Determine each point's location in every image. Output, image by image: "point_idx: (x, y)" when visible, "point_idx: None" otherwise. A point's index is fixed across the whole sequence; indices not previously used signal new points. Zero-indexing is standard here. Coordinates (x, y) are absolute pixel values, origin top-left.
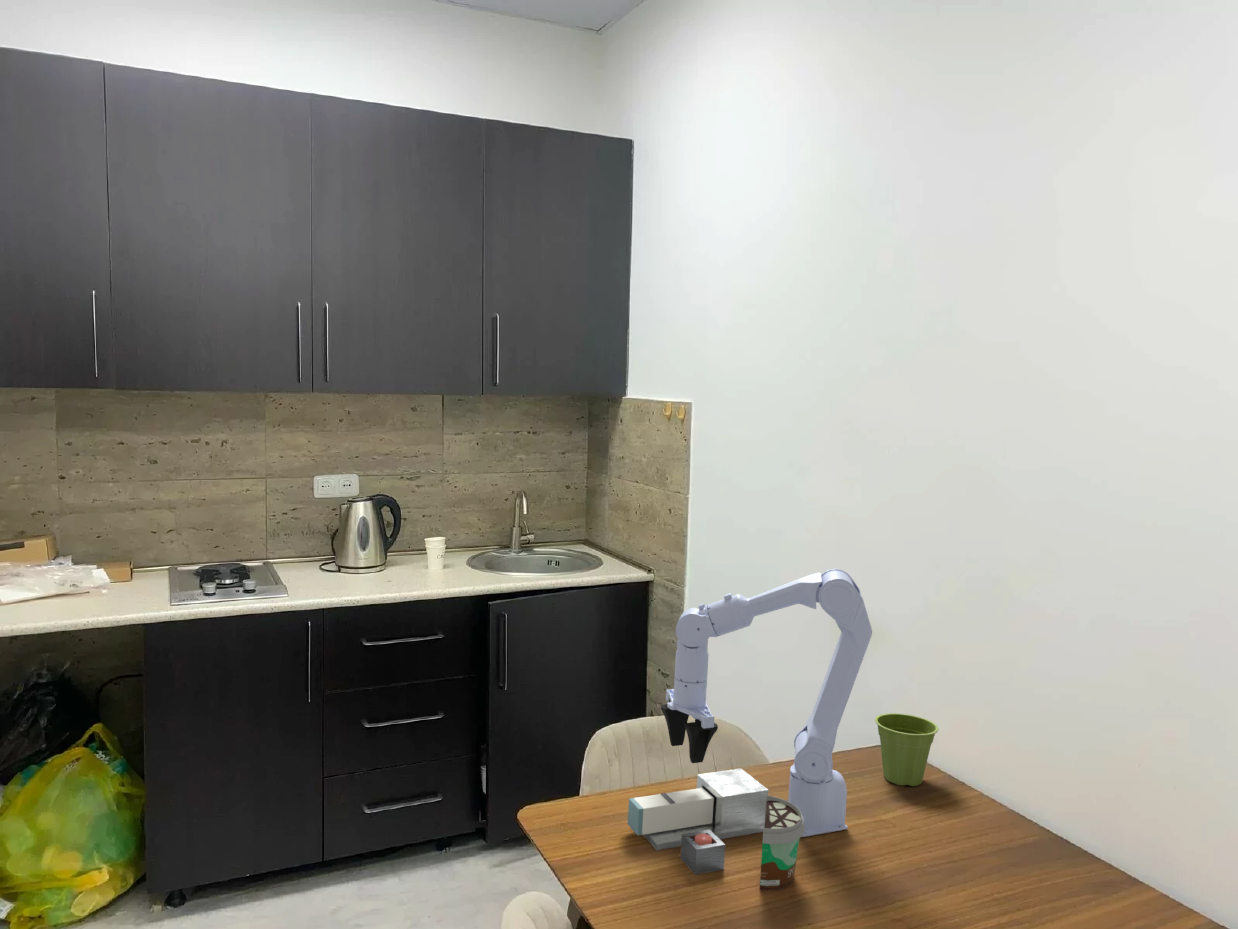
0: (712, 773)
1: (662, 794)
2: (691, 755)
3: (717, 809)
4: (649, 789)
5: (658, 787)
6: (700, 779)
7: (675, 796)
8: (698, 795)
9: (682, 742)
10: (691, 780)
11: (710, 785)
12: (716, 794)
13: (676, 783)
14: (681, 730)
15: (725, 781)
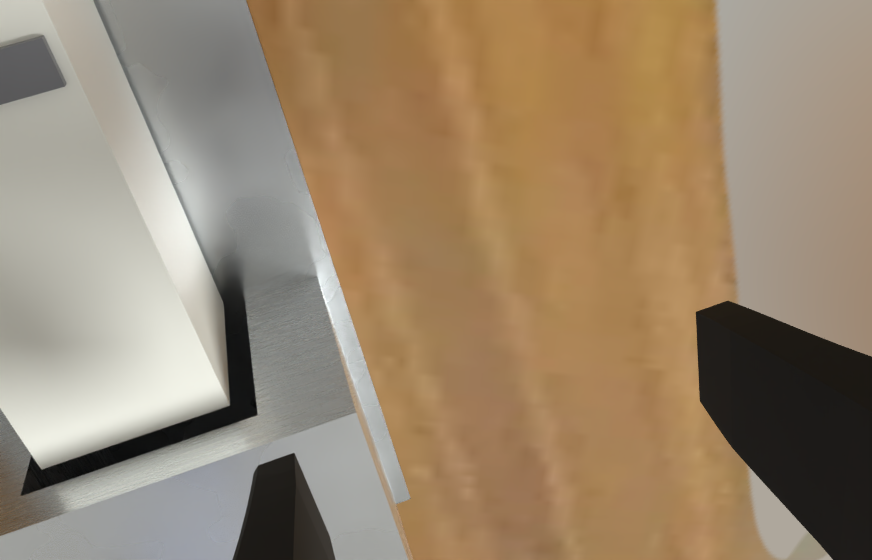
0: (369, 512)
1: (13, 48)
2: (243, 524)
3: (13, 446)
4: (661, 20)
5: (674, 86)
6: (298, 420)
7: (14, 175)
8: (71, 368)
9: (714, 416)
10: (709, 289)
11: (131, 493)
12: (23, 510)
13: (696, 204)
14: (806, 489)
15: None
